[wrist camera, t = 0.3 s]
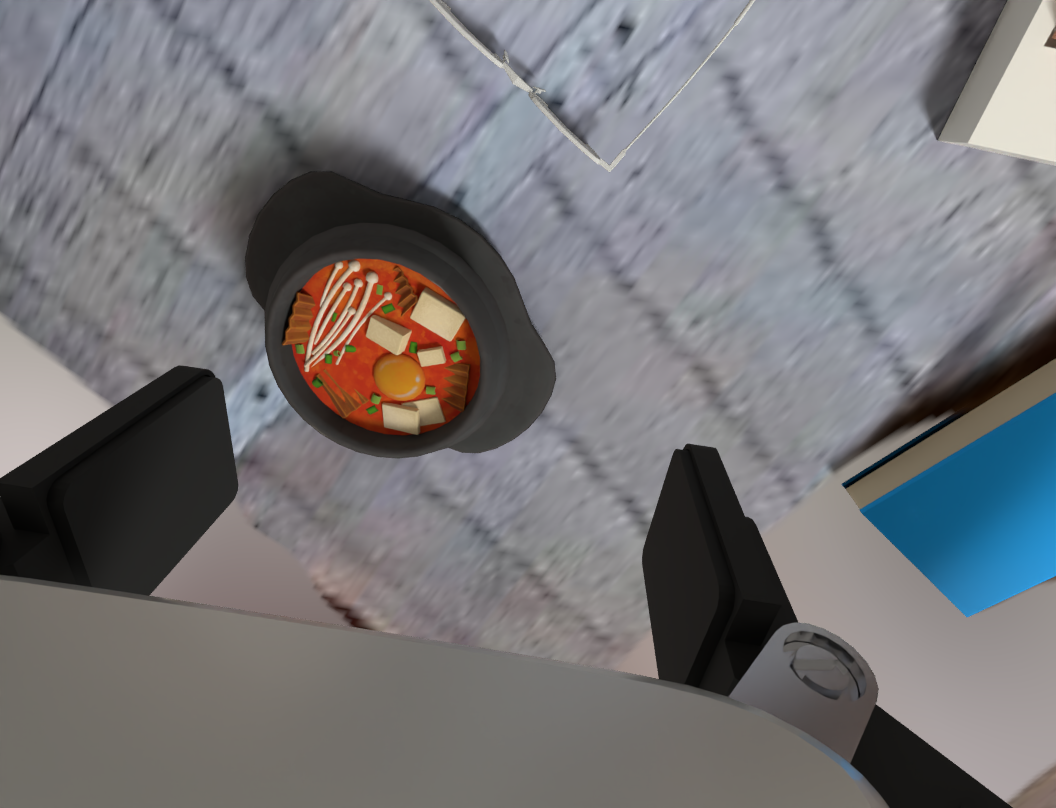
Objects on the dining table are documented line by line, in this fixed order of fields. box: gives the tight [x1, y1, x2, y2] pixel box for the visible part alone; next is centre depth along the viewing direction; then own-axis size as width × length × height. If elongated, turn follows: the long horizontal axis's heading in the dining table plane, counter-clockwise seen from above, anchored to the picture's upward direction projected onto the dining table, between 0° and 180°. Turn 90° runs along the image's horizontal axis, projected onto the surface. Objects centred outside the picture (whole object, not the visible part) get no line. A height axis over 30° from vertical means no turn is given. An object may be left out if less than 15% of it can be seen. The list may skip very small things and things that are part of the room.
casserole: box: [245, 172, 556, 458], centre depth 39 cm, size 25×19×8 cm
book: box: [842, 359, 1056, 617], centre depth 43 cm, size 17×4×25 cm
